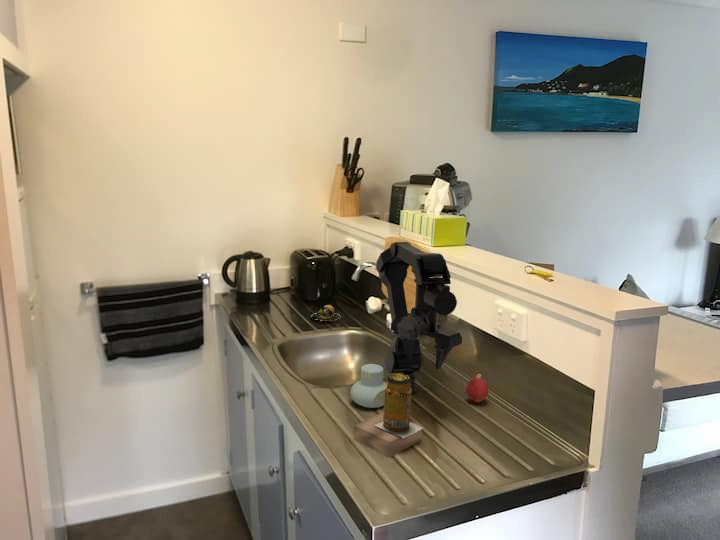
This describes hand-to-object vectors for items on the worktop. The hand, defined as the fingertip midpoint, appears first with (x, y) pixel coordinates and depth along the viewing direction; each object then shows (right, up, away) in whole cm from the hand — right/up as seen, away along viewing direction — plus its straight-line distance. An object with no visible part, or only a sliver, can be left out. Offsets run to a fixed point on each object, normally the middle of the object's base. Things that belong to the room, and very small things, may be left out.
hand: (423, 364), depth 147 cm
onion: (+15, -12, +10) cm, 22 cm away
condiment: (-7, -12, -14) cm, 20 cm away
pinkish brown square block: (-10, -16, -12) cm, 22 cm away
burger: (-29, +4, +80) cm, 86 cm away
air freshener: (-13, -12, +7) cm, 19 cm away
